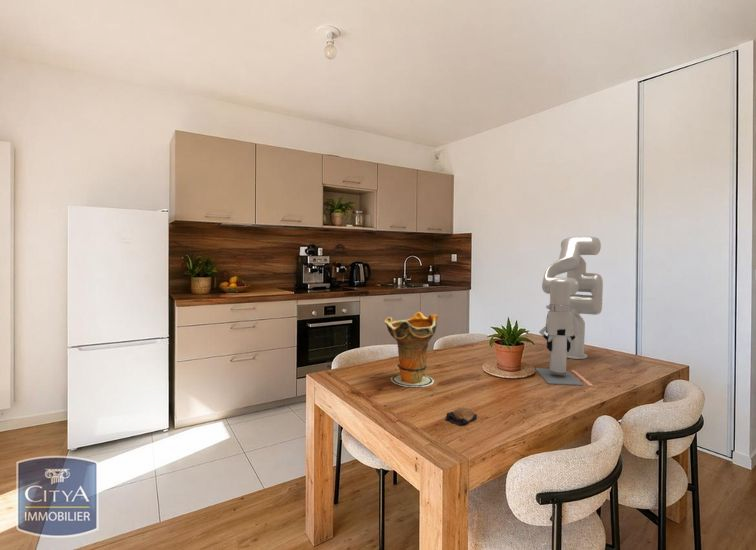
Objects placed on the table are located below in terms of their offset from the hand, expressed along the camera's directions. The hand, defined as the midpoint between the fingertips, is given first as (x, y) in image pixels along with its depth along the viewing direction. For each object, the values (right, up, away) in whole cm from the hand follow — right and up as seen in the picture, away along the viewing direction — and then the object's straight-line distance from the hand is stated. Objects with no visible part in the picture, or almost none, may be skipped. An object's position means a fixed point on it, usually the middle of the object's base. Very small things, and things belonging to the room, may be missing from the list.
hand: (558, 350), depth 162 cm
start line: (+9, -12, -1) cm, 15 cm away
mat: (0, -11, 0) cm, 11 cm away
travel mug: (0, -10, +1) cm, 10 cm away
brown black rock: (-50, -14, -40) cm, 65 cm away
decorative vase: (-62, -12, -4) cm, 63 cm away
